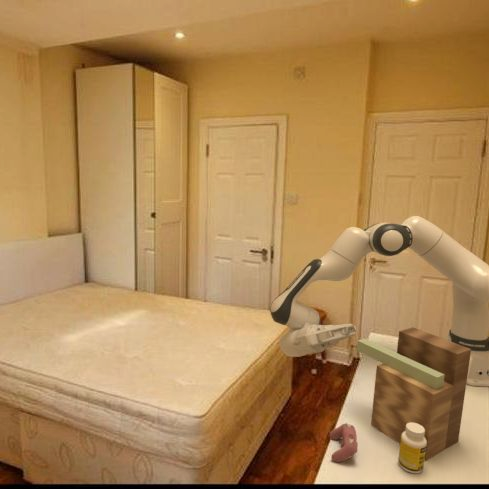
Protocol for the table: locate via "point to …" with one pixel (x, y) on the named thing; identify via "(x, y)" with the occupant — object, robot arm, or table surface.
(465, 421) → the table surface
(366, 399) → the table surface
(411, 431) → the supplement bottle
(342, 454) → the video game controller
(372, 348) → the bar
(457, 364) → the pedestal
